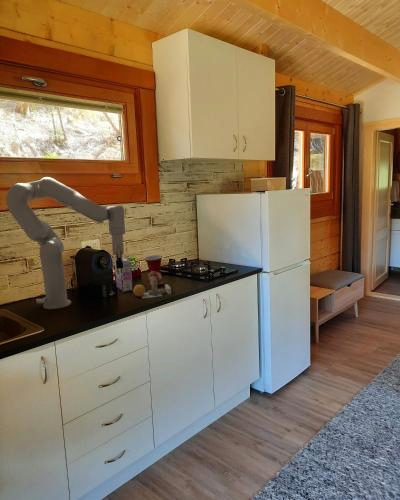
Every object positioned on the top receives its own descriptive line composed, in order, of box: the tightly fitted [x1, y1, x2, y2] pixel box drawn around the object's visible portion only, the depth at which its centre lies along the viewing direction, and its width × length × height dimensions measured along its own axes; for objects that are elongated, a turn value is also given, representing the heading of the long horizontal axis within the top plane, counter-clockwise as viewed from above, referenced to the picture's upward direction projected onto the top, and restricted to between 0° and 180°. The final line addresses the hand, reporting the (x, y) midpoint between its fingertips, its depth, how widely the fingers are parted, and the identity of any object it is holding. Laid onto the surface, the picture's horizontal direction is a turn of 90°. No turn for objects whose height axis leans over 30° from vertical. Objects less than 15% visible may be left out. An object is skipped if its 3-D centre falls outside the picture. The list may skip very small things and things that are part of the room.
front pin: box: [147, 288, 167, 295], centre depth 194 cm, size 2×2×8 cm
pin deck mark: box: [140, 291, 163, 299], centre depth 193 cm, size 10×10×1 cm
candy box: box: [113, 256, 134, 292], centre depth 207 cm, size 14×6×16 cm, turn 26°
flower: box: [146, 271, 164, 287], centre depth 211 cm, size 10×9×8 cm
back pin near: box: [152, 279, 158, 296], centre depth 190 cm, size 2×2×8 cm
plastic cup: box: [144, 254, 163, 273], centre depth 235 cm, size 11×11×12 cm
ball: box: [132, 283, 146, 297], centre depth 191 cm, size 6×6×6 cm
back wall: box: [164, 283, 172, 295], centre depth 196 cm, size 2×9×3 cm, turn 15°
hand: (119, 268), depth 187 cm, fingers closed
